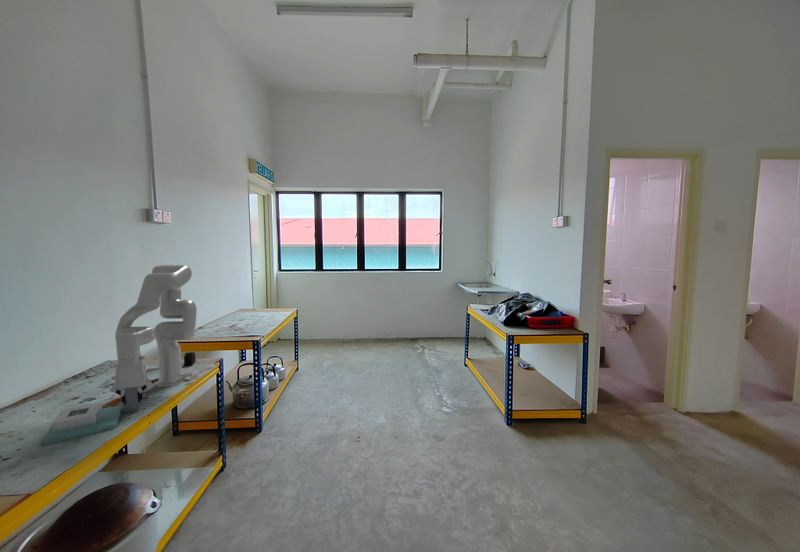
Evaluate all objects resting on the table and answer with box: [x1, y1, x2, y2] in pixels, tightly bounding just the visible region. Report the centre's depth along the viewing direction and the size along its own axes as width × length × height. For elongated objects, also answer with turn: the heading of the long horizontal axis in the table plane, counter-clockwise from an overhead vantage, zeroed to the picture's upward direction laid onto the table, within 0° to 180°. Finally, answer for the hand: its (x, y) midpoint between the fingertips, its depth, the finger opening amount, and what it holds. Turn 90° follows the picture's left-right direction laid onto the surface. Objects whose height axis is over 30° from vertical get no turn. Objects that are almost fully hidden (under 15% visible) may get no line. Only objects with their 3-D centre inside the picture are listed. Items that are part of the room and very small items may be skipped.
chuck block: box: [41, 402, 124, 446], centre depth 133 cm, size 20×18×6 cm
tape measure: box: [183, 351, 197, 367], centre depth 201 cm, size 15×4×8 cm, turn 16°
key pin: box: [125, 386, 141, 415], centre depth 143 cm, size 4×4×12 cm
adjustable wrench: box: [111, 365, 159, 381], centre depth 182 cm, size 25×6×2 cm, turn 160°
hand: (132, 402), depth 144 cm, fingers closed on key pin, 4 cm apart
